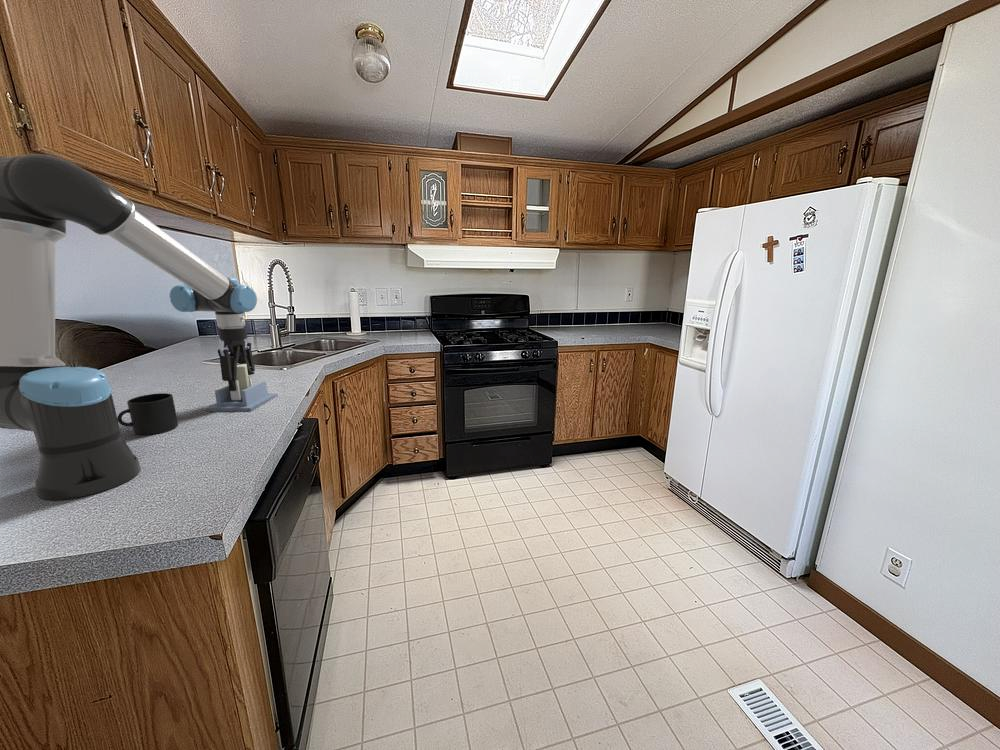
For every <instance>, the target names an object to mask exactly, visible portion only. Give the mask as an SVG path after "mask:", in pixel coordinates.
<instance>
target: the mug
mask: <svg viewBox="0 0 1000 750" xmlns="http://www.w3.org/2000/svg"><path fill="white" fill-rule="evenodd" d="M126 404H127V407H128V408H127V409H124V410H122V411H121V412H119V414H118V415H117V419H118V423H119V425H121V426H123V427H132V429H133V430H132V431H133V433H134V434H135V435H139V436H150V435H151V436H152V435H159V434H162V433H167V432H169V431H171V430H174V429H175V428H177V427H178V426H179V420H178V416H177V411H176V407H175V401H174V396H173V394H171V393H167V392H165V393H164V392H162V393H150V394H145V395H144V394H143V395H140V396H136V397H133V398H130V399H128V400H127V401H126ZM127 413H128V414H129V416H130V422H125V421H124V420H123V417H124V415H125V414H127Z"/></svg>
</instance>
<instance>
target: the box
mask: <svg viewBox="0 0 1000 750" xmlns="http://www.w3.org/2000/svg"><path fill="white" fill-rule="evenodd" d="M236 380H238V381H239V388H240V394H241V391H242V390H244V389H247V388H249V387H250V385H249V377H248V370H247V364H239V363H237V373H236ZM241 399H242V395H241Z"/></svg>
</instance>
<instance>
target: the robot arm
mask: <svg viewBox="0 0 1000 750" xmlns="http://www.w3.org/2000/svg"><path fill="white" fill-rule="evenodd" d="M67 221H69V222H73V223H75V224H78V225H80V226H83V227H85V228H87V229H89V230H91V232H94V233H95V234H97V235H99V236H109V237H110V238H112V239H114V240H115V241H117V242H118V243H120V244H122V245H123V246H125V247H126V248H127V249H130V250H131V251H133V252H134V253H135V254H137V255H138V256H140V257H142V258H143V259H145V260H147V261H148V262H150V263H151V264H153V265H154V266H156V267H158V268H160V269H161V270H162V271H163V272H165V273H167V274H168V275H170V276H172V277H173V278H174V279H177V281H179V282H180V283H182V285H181V284H178V285H175V286H173V287H172V288H171V289H170V292H169V299H170V300H169V301H170V303H171V305H172V307H173V308H174V309H175V310H177V311H178V312H181V313H193V312H214V313H215V319H216V326H217V327H218V330H217V331H218V336H219V337H218V338H219V340H220V341H223V348H220V349H217V354H218V356H219V362H220V363H219V365H220V372H221V380H222V381H224V382H227V385H229V390H230V394H231V400H241V394H240V388H239V381H238V380H236V373H237V364H247V370H248V377H249V385H250V387H251V386H253V379H252V375H254V374H255V371H256V368H255V363H254V357H253V353H252V343H251V342H245V340H246V339H248V332H247V327H245V326H246V320H245V319H246V318H245V313H250V312H252V311H253V310H254V309H255V308H256V306H257V303H258V297H257V294H256V292H255V290H254V289H253V288H252V287H250V286H249V285H244V284H240V281H239V279H238V278H236V277H226V276H225V275H224V274H222V272H221V273H220V271H218V270H217V269H216V268H214V266H211V265H210V264H208V263H207V262H206V261H205V260H203V259H202V258H201V257H200V256H198V255H197V254H196V253H194V252H192V251H191V249H189V248H187V247H186V246H185V245H183V244H182V243H181V242H179V241H178V240H176V239H175V238H173V236H170V234H168V233H167V232H165V231H164V230H163V229H161V228H160V227H159V226H157V225H156V224H154V223H153V222H152V221H151V220H149V219H148V218H147V217H146V216H144V215H143V214H142V213H140V212H138V210H136V209H135V203H133V201H132V200H131V199H130V198H128V197H126V195H124V194H122V193H121V192H120V191H119V190H118V189H116V188H114V187H113V186H112V185H110V184H108V183H107V182H105V181H104V180H103V179H101V178H99V177H98V176H96V175H95V174H93V173H91V172H90V171H88V170H86V169H84V168H83V167H80V166H78V165H77V164H75V163H73V162H71V161H69V160H66V159H63V158H61V157H58V156H54V155H50V154H43V153H30V154H29V153H28V154H24V155H15V156H0V428H1V429H7V430H20V431H27V432H28V431H29V432H33V435H34V438H35V441H36V444H37V448H38V451H39V454H40V457H39V464H38V465H39V466H38V473H37V474H38V475H37V478H36V481H35V483H34V485H35V490H36V493H37V496H38V497H39V498H40V499H43V500H48V501H49V500H50V501H59V500H69V499H76V498H81V497H85V496H89V495H94V494H97V493H98V494H99V493H101V492H103V491H104V492H105V491H107V490H110V489H113V488H115V487H118V486H120V485H122V484H124V483H126V482H128V481H130V480H132V479H133V478H135V477H136V476H137V475H138V474H140V472H141V464H140V461H139V458H138V456H136V455H134V453H133V451H132V450H131V448H130V447H129V445H128V444H127V442H126V441H125V440H124V439H123V435H122V433H121V429H120V423H119V422H118V419H117V418H118V415H117V411H116V407H115V403H114V398H113V395H112V391H113V390H112V386H111V385H110V382H109V380H108V377H107V375H106V374H105V373H104V372H103V371H101V370H99V369H97V368H93V367H86V366H74V367H73V366H72V367H71V366H67V365H66V363H65V362H64V361H63V360H62V359H60V358H58V357H57V355H56V242H58V241H60V240H62V239H64V238H65V237H66V235H67V233H66V232H67V230H66V229H67V227H66V226H67Z"/></svg>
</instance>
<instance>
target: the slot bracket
mask: <svg viewBox="0 0 1000 750" xmlns="http://www.w3.org/2000/svg"><path fill="white" fill-rule="evenodd" d="M214 394H215V399H216V400H215V401H216V403H214V404H212V405H210V406H207V407H205V412H252V411H254V410H256V409H257V408H259V407H262V406H264V405H265V404H267V403H268V402H270V401H272V400H274V399H276V398H277V397H279V395H278V393H268V387H267V381H266V380H265V381H264V380H262V381H260V382H258V383H256V384H252V386H251V387H249V388H247V389H244V390H242V391H241V395H242V399H241V400H231V394H230V390H229V384H227V385H226V386H224V387H221V388H218V389H216V390H214ZM276 396H277V397H276ZM275 397H276V398H275ZM273 398H274V399H273ZM271 399H272V400H271ZM266 402H267V403H266Z"/></svg>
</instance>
